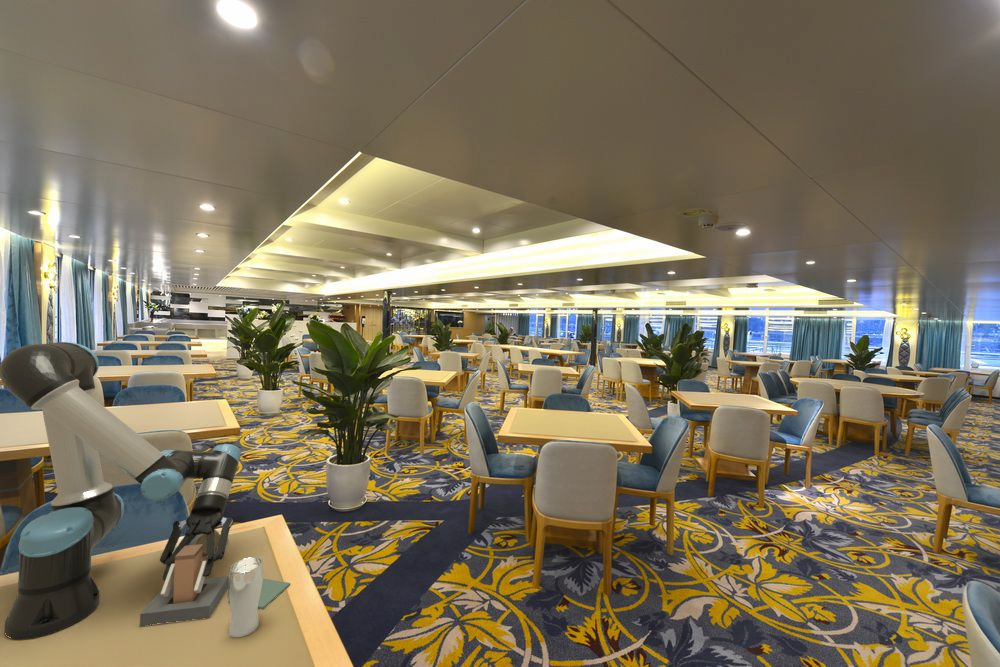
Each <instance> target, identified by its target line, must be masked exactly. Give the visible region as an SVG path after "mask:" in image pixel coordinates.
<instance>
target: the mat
mask: <svg viewBox="0 0 1000 667" xmlns="http://www.w3.org/2000/svg"><path fill="white" fill-rule="evenodd" d="M290 586H291V582H287V581H280V580H275V579H269V578H263V584H262V590H261V595H260V599H259V603H258V610H264V609H266V608H267V607H268V606H269V605H270V604H271V603H272V602H273V601H274V600H275V599H274V598H275V597H276V596H278V595H279V594H280V593H281V594H282V593H283V592H284V591H286V590H287V589H288V588H289V587H290ZM285 589H286V590H285ZM281 594H280V595H281ZM280 595H279V596H280ZM279 596H278V597H279ZM273 599H274V600H273ZM272 600H273V601H272ZM271 601H272V602H271ZM270 602H271V603H270ZM269 603H270V604H269ZM228 604H229V601H228ZM268 604H269V605H268ZM267 605H268V606H267ZM266 606H267V607H266ZM265 607H266V608H265Z"/></svg>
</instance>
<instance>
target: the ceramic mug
mask: <svg viewBox="0 0 1000 667" xmlns="http://www.w3.org/2000/svg"><path fill="white" fill-rule="evenodd" d="M214 533H215V536H214V544H215V550H217V548H218V543H219V539H220V534H221V533H220V532H219V531H218V530H217V529H216V528H215V529H214ZM227 542H229V538H228V539H227ZM199 544H203V555H204V554H205V555H207V542H206V534H200V535H196V537H195V538H194V539H193V540H192V541H191V542H190V544H189V545H199Z"/></svg>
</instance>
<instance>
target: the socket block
mask: <svg viewBox="0 0 1000 667" xmlns="http://www.w3.org/2000/svg"><path fill="white" fill-rule="evenodd" d="M228 580H229V575H228V576H226V575H225V576H218V577H208V578H206V577H205V580H204V583H203V586H202V590H201V594H200V595H199V597H198V598H197V599H196V601H192V602H184V603H175V604H173V596H174V581H173V584H172V587H171V590H170V593H169V596H168V597H164V596H163V595H161V592H162V589H163V587H162V588H161V589H160V591H159V592H158V593H157V594H156V595H155V596H154V597H153V599H152V600H151V601H150V602H149V603H148V604H147V605H146V607H145V608H144V609H143V610H142V611H141V612H140V613H139V627H140V626H142V627H146V626H145V625H150V624H151V625H150V626H153V625H152V624H157V623H166V622H174V623H177V622H176V621H182V622H187V621H186V620H190V621H193V620H192V619H198V620H204V619H203V618H206V619H210V618H211V616H212V615H213V612H214V611H215V609H216V608H217V606H218V605H217V604H219V603H220V601H221V600H222V598H223V597H224V595H225V593H226V591H228ZM222 596H223V597H222ZM209 617H210V618H209ZM166 624H167V623H166Z"/></svg>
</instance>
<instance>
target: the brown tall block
mask: <svg viewBox="0 0 1000 667" xmlns="http://www.w3.org/2000/svg"><path fill="white" fill-rule="evenodd" d="M203 559H204V558H203V544H199V545H187V546H184V547H183V548H182V549H181V551H180V552H179V553H178V554H177V555H176V556H175V570H174V581H173V582H174V596H173V604H175V603H184V602H192V601H196V599H197V598H198V597H199V595H200V594H201V593H196V592H195V591H194V588H195V585H196V581H197V578H198V575H199V572H200V569H201V565H202V562H203V561H204V560H203Z"/></svg>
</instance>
